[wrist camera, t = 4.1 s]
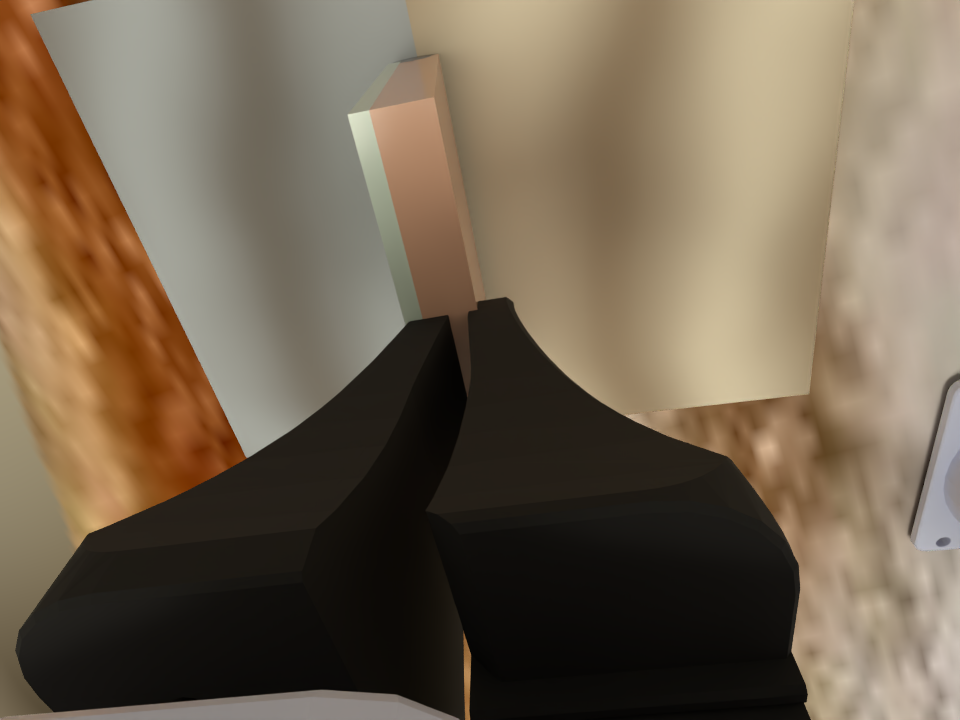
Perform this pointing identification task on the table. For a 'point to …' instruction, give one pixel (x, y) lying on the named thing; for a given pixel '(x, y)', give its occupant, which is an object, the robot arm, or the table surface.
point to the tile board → (478, 182)
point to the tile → (420, 195)
